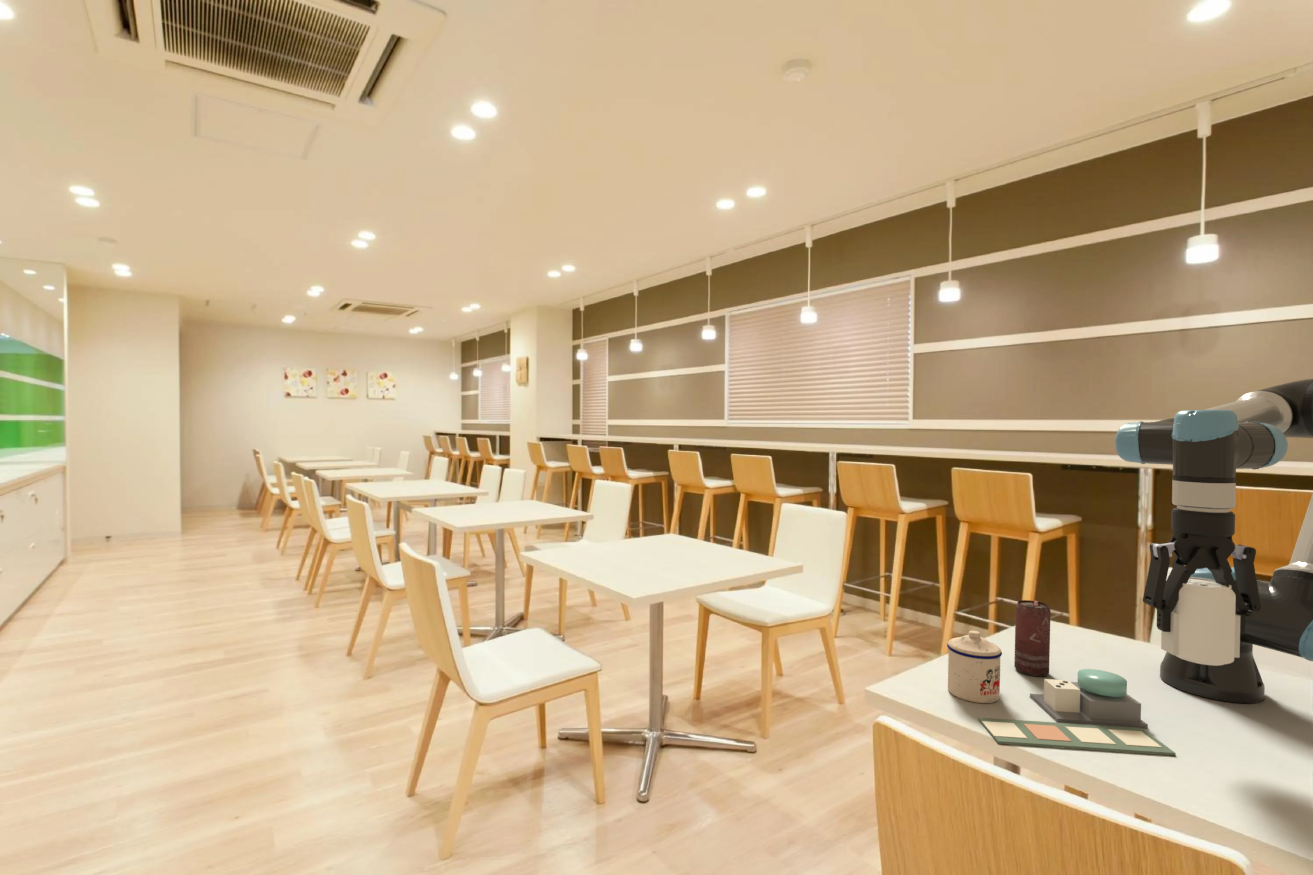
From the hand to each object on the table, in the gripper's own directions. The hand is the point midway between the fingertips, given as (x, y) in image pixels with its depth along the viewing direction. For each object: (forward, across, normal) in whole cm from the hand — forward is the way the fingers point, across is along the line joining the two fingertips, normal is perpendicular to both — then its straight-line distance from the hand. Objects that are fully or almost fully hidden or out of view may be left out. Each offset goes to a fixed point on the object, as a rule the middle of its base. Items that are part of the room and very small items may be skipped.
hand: (1199, 652), depth 99 cm
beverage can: (+1, 0, 0) cm, 1 cm away
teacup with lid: (+15, +27, -16) cm, 35 cm away
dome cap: (+13, +9, -10) cm, 19 cm away
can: (+15, +12, -28) cm, 34 cm away
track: (+14, +19, 0) cm, 24 cm away
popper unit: (+15, +11, -10) cm, 21 cm away
